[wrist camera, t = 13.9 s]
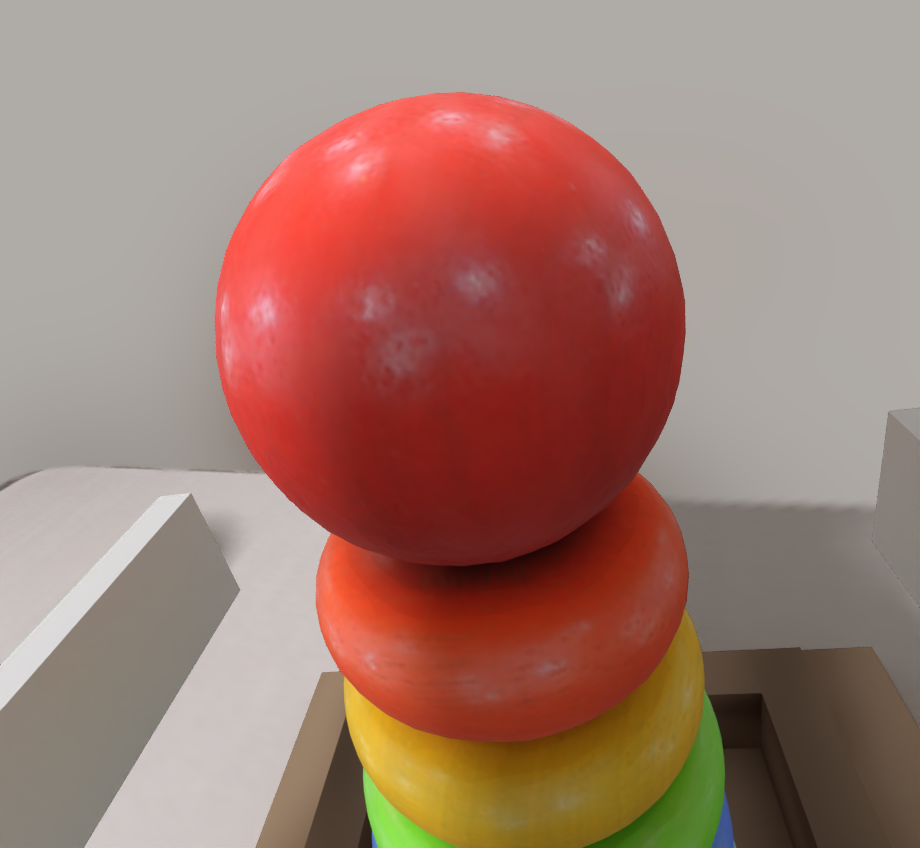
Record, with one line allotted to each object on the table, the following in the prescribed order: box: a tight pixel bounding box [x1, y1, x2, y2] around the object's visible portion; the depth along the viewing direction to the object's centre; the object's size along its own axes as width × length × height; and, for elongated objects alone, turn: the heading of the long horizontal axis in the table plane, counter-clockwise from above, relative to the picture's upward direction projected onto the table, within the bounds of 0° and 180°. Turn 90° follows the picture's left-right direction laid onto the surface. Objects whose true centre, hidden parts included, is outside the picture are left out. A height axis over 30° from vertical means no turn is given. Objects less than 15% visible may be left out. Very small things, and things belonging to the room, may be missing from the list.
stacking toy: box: [215, 92, 736, 848], centre depth 10 cm, size 8×8×19 cm
